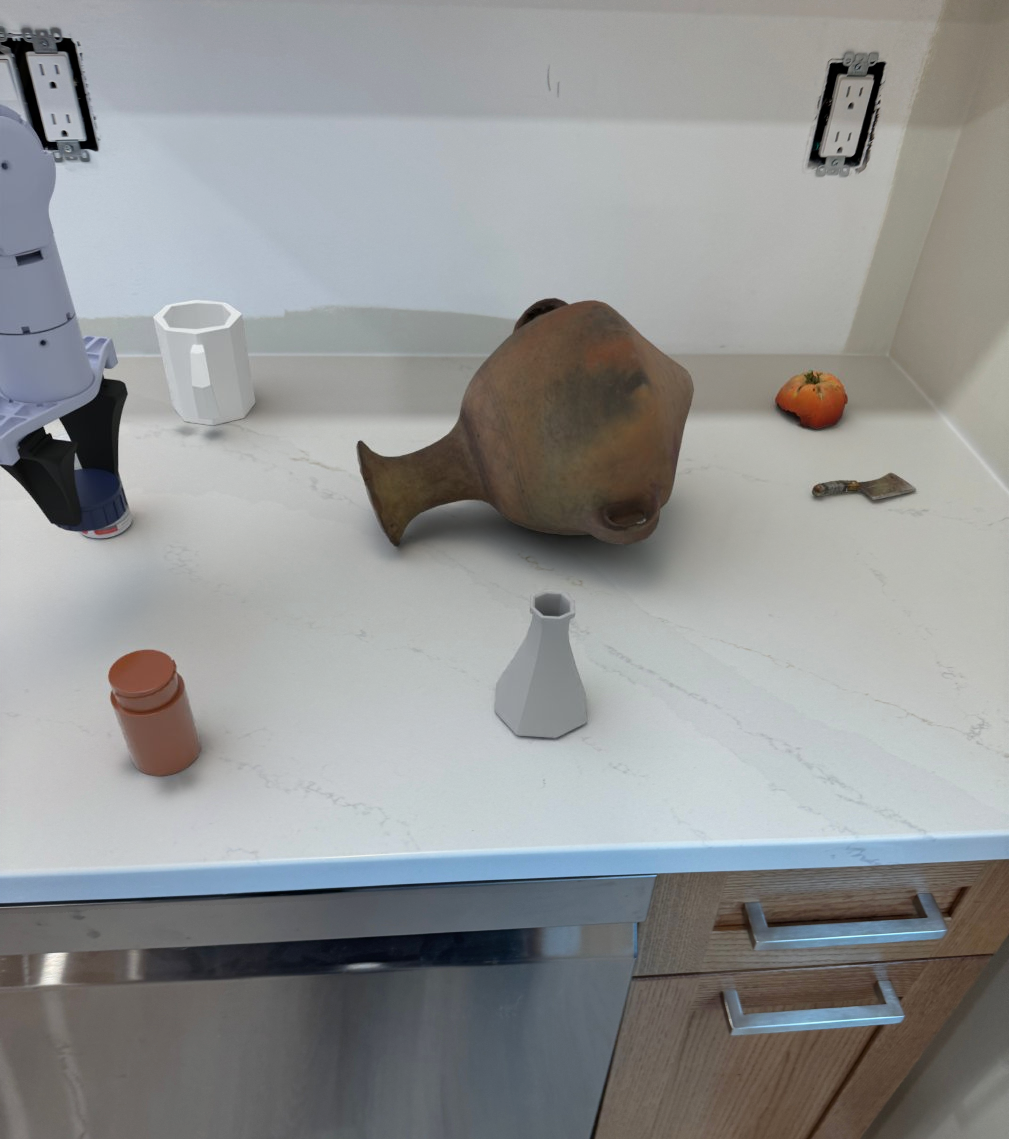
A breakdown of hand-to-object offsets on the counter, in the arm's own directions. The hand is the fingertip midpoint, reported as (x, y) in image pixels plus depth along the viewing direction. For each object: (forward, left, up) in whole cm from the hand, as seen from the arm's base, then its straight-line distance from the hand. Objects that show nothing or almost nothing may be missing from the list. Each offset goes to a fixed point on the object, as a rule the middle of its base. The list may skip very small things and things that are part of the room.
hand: (85, 500), depth 65 cm
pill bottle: (+1, +12, -10) cm, 16 cm away
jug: (+36, -2, -10) cm, 38 cm away
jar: (0, -17, -10) cm, 20 cm away
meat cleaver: (+71, -11, -10) cm, 72 cm away
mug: (+15, +28, -10) cm, 33 cm away
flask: (+26, -24, -10) cm, 37 cm away
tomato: (+77, +4, -10) cm, 78 cm away
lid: (0, 0, +1) cm, 1 cm away
